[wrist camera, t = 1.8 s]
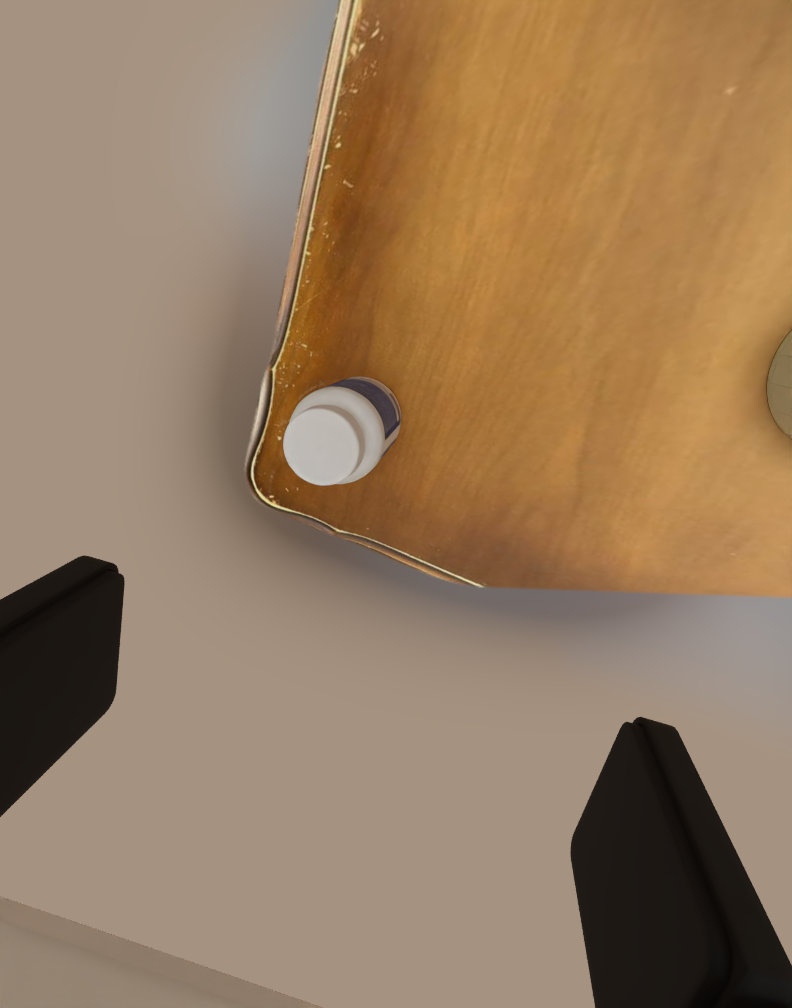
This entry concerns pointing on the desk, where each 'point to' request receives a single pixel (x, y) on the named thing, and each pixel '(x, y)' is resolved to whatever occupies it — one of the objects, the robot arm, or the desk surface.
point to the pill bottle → (342, 431)
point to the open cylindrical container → (781, 386)
